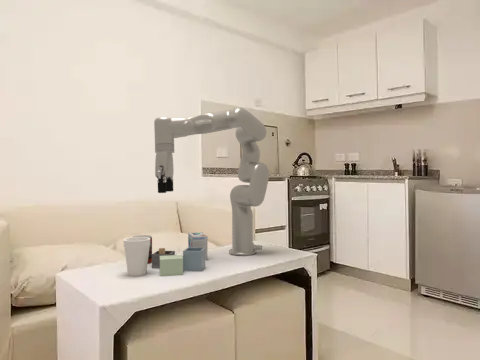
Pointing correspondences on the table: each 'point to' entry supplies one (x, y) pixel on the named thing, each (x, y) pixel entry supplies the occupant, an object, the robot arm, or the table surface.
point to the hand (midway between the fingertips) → (165, 192)
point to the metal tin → (157, 258)
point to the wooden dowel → (161, 250)
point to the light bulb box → (198, 241)
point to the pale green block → (171, 265)
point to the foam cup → (137, 255)
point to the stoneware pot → (193, 259)
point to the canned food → (149, 248)
